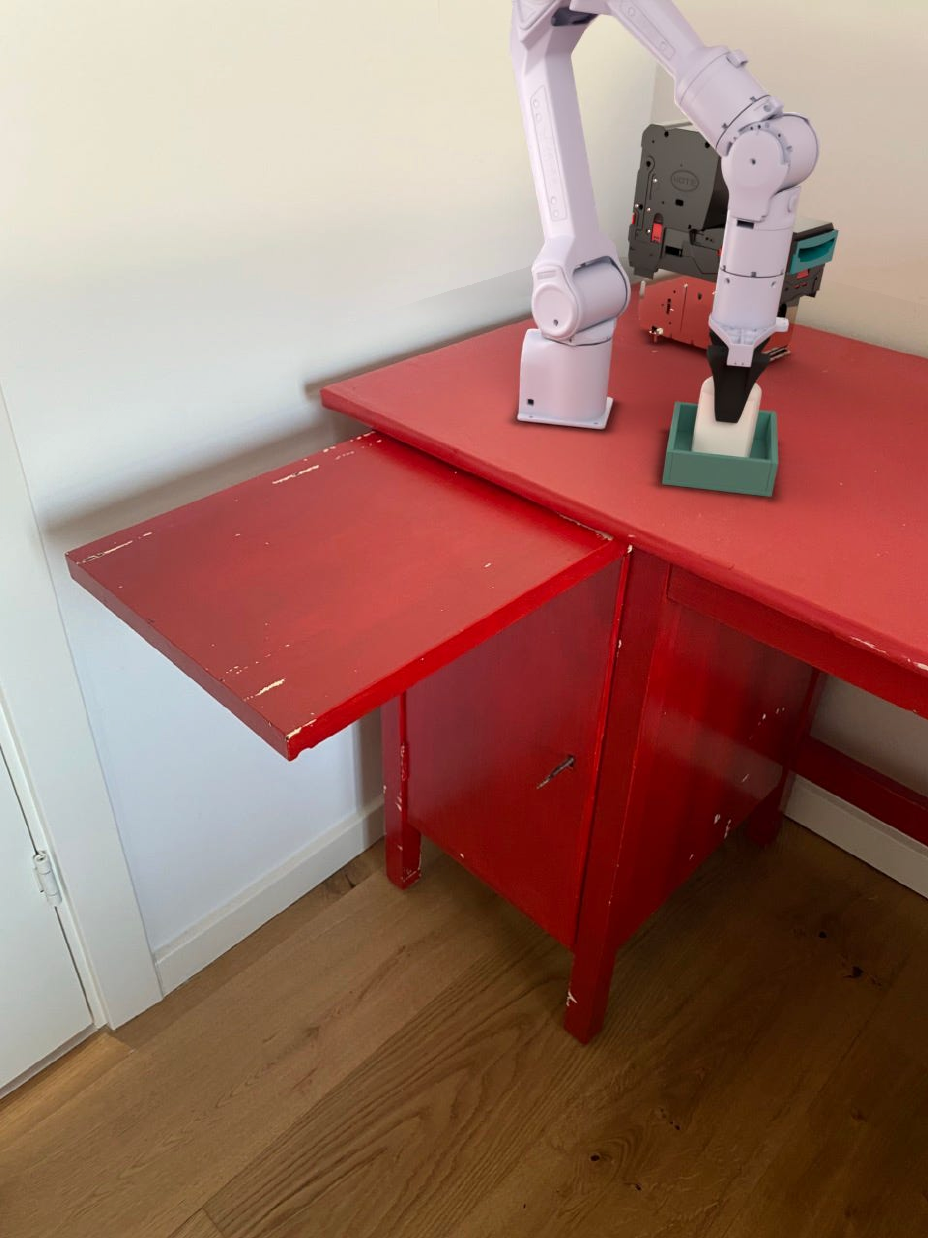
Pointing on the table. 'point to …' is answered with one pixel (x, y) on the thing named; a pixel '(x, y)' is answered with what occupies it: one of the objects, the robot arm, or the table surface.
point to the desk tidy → (721, 457)
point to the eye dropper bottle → (724, 425)
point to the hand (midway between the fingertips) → (727, 412)
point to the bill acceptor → (701, 239)
